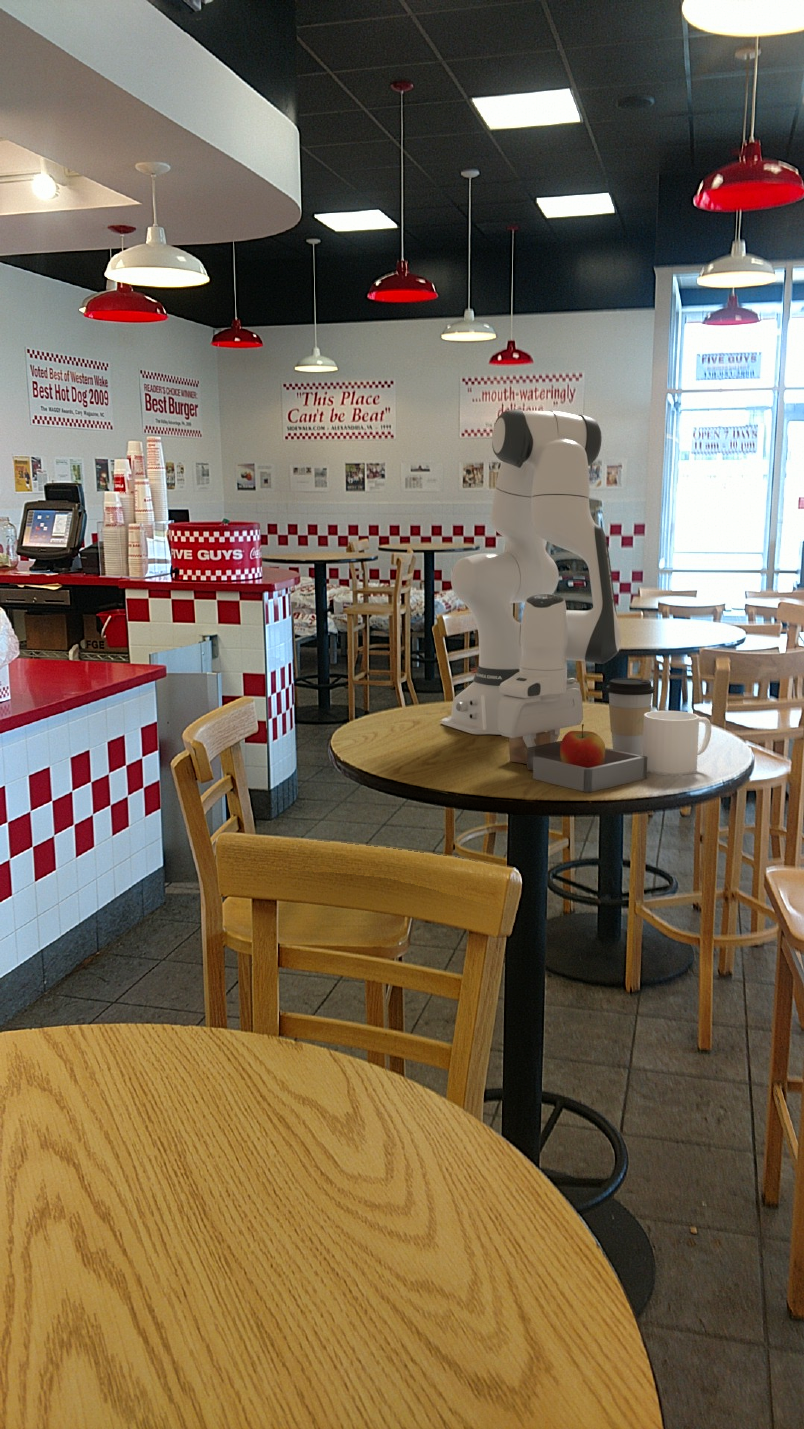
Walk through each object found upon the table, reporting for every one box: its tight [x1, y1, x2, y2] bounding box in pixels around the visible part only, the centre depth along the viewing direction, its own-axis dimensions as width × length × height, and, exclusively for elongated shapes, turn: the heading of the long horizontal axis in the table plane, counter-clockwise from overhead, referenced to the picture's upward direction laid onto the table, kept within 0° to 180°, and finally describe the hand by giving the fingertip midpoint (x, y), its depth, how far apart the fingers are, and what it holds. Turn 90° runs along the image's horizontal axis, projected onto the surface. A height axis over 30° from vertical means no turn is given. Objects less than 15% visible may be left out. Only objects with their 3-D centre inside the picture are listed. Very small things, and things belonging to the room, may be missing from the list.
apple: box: [560, 723, 606, 768], centre depth 194 cm, size 8×8×10 cm
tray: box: [532, 747, 648, 794], centre depth 193 cm, size 13×16×4 cm
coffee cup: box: [605, 677, 656, 755], centre depth 210 cm, size 9×9×15 cm
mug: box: [642, 710, 712, 776], centre depth 199 cm, size 13×10×10 cm
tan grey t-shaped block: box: [508, 731, 562, 771], centre depth 204 cm, size 10×10×6 cm
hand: (541, 754), depth 203 cm, fingers closed on tan grey t-shaped block, 3 cm apart
